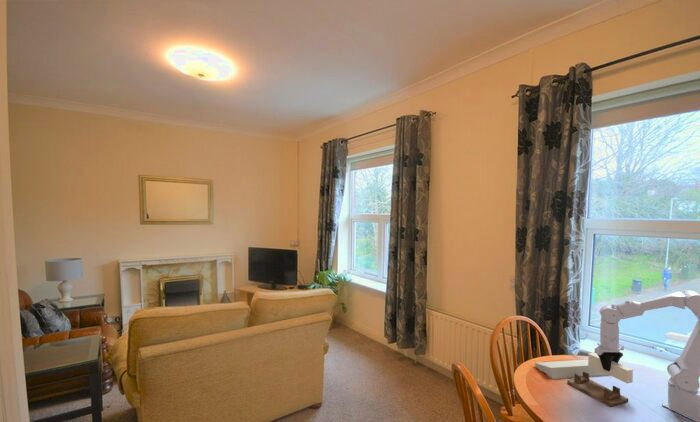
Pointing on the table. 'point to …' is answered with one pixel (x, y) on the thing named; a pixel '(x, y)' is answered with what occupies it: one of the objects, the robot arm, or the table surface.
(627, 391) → the table surface
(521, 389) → the table surface
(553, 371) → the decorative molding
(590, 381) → the walnut rack
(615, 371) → the cream rectangular block
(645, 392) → the table surface
